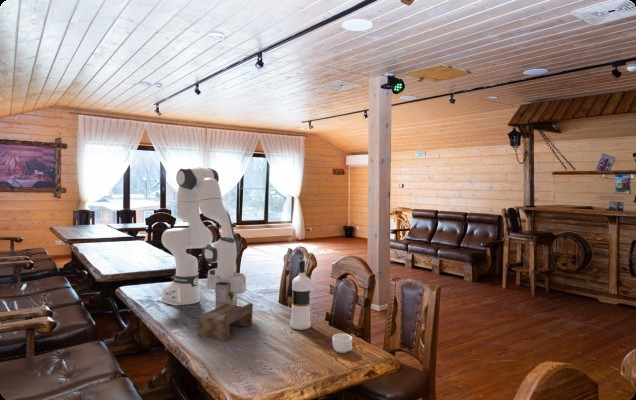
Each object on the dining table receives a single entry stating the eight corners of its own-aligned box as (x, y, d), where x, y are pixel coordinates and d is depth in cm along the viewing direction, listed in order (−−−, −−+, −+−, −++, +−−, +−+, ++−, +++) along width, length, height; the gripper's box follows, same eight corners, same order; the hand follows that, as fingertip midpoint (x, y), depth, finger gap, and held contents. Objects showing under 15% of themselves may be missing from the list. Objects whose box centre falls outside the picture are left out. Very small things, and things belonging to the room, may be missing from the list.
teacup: (328, 349, 165) (328, 335, 164) (343, 345, 169) (344, 332, 169) (343, 358, 156) (343, 344, 156) (359, 354, 160) (360, 340, 160)
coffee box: (225, 311, 208) (226, 279, 207) (236, 312, 206) (237, 280, 205) (214, 316, 199) (215, 282, 199) (226, 318, 197) (226, 284, 196)
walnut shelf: (198, 335, 175) (198, 311, 174) (225, 321, 193) (225, 299, 193) (227, 341, 170) (227, 316, 169) (252, 325, 188) (252, 303, 188)
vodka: (286, 324, 191) (288, 259, 189) (305, 322, 195) (307, 258, 193) (294, 331, 182) (296, 263, 181) (314, 329, 186) (316, 261, 185)
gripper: (249, 272, 201) (248, 301, 201) (212, 268, 208) (212, 295, 209) (242, 275, 195) (241, 304, 196) (205, 270, 202) (204, 299, 203)
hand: (226, 300), depth 202 cm, fingers closed on coffee box, 6 cm apart
